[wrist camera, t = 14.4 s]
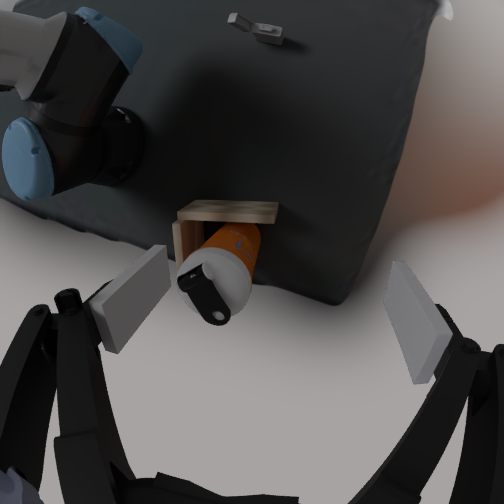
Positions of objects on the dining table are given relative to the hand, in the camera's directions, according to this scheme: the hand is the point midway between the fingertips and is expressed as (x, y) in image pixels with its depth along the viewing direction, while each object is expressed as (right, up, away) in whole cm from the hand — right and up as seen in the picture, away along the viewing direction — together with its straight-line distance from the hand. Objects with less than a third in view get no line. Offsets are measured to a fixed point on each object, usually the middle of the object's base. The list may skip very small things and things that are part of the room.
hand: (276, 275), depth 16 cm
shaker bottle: (-3, +4, +33) cm, 33 cm away
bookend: (-4, +5, +32) cm, 33 cm away
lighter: (0, +35, +19) cm, 40 cm away
